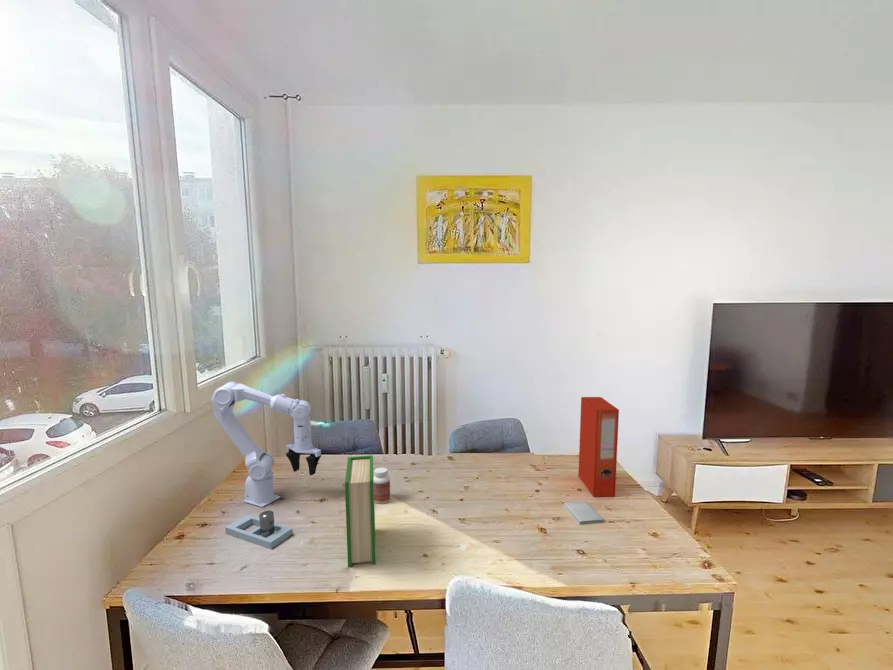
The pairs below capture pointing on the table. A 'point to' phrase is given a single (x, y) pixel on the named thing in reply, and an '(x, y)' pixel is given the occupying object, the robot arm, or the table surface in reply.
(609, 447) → the file binder
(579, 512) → the hard drive
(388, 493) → the pill bottle
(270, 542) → the grey double-hole frame
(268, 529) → the peg
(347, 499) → the hardback book
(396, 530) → the table surface
